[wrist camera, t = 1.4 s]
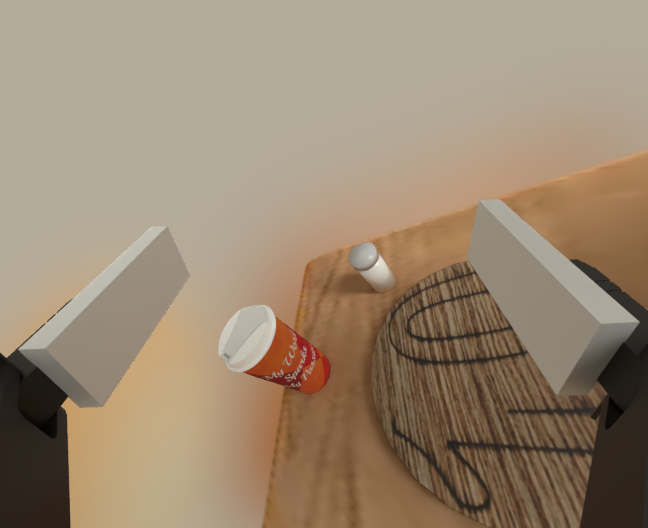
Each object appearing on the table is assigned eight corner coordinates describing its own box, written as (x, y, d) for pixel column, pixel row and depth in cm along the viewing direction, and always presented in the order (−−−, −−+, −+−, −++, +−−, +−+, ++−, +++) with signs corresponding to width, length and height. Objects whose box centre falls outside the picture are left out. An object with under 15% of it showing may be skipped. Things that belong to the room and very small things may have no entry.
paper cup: (319, 413, 37) (237, 381, 28) (282, 386, 42) (204, 352, 33) (347, 356, 39) (280, 309, 30) (309, 337, 45) (243, 293, 36)
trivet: (815, 550, 16) (834, 554, 15) (393, 533, 27) (384, 534, 26) (573, 235, 32) (573, 224, 31) (368, 301, 43) (362, 294, 42)
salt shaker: (389, 266, 44) (367, 237, 39) (401, 282, 41) (379, 253, 36) (368, 281, 45) (344, 254, 40) (379, 298, 42) (354, 271, 37)
